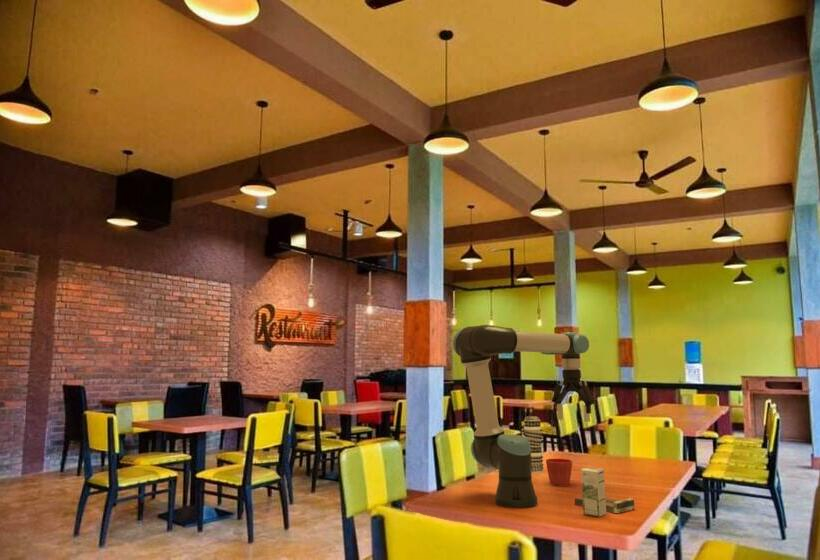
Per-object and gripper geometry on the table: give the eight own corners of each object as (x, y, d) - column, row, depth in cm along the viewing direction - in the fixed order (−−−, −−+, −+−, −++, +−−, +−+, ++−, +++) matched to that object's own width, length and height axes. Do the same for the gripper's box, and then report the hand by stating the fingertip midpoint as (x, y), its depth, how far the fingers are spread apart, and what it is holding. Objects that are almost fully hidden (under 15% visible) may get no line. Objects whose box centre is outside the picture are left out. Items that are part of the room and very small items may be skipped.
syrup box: (607, 514, 193) (604, 468, 195) (599, 517, 188) (596, 470, 190) (590, 511, 196) (588, 466, 198) (582, 514, 192) (580, 469, 194)
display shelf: (617, 513, 192) (616, 502, 193) (575, 504, 206) (574, 494, 207) (635, 509, 198) (634, 498, 199) (592, 500, 212) (592, 490, 212)
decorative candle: (532, 469, 278) (530, 415, 282) (548, 471, 271) (546, 416, 275) (520, 471, 272) (518, 416, 276) (536, 474, 265) (533, 417, 269)
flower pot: (570, 481, 247) (569, 458, 248) (575, 487, 236) (574, 462, 237) (545, 481, 248) (544, 458, 249) (548, 487, 237) (547, 462, 238)
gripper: (602, 369, 239) (604, 422, 236) (553, 369, 258) (555, 418, 255) (590, 369, 234) (593, 423, 231) (542, 369, 254) (544, 419, 251)
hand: (573, 420), depth 243 cm, fingers open, 13 cm apart
